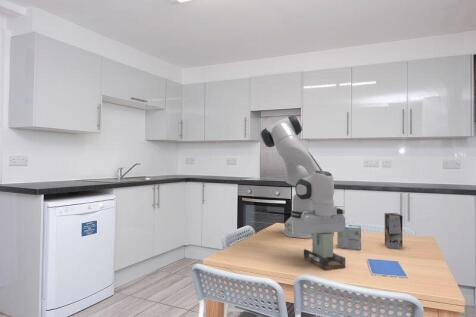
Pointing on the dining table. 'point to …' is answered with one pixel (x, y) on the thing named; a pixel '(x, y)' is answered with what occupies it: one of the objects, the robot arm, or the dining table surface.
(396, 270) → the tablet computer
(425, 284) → the dining table surface
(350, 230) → the light bulb box
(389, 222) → the coffee box
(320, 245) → the plain green carton
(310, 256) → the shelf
